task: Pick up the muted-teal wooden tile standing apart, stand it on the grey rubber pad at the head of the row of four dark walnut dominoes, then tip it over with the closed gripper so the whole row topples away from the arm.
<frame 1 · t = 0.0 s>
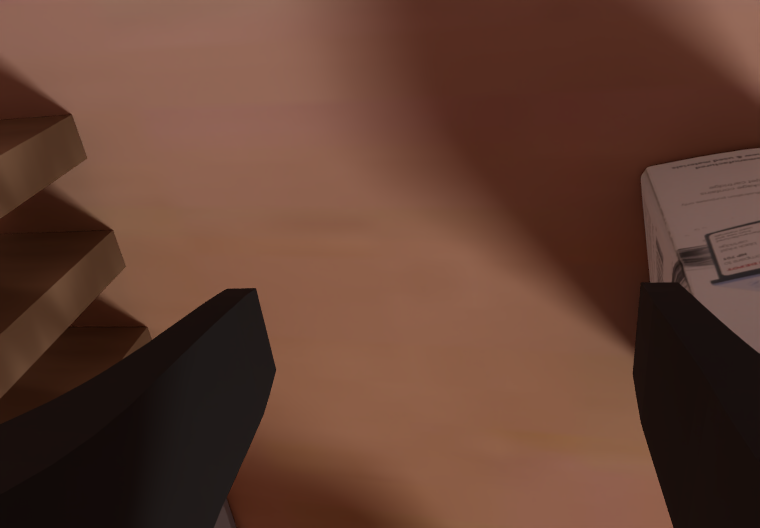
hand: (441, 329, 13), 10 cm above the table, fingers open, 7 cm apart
domino 4: (61, 250, 26), on the table
slot pad: (164, 503, 33), on the table
ink box: (715, 268, 22), on the table
domino 3: (99, 342, 28), on the table
domino 5: (17, 140, 24), on the table
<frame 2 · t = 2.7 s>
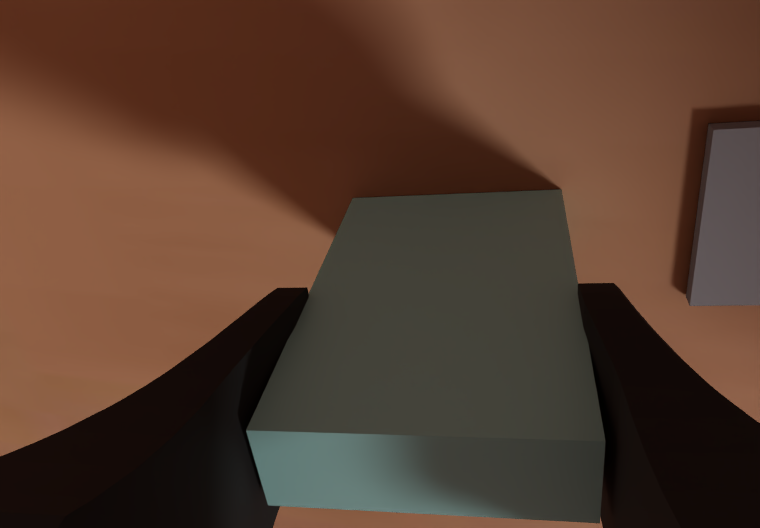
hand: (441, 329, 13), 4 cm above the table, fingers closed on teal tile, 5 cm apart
teal tile: (455, 223, 16), on the table, touching gripper
when the fingers open (5 cm above the table, at t = 5.6 s): teal tile stays where it is, resting on slot pad.
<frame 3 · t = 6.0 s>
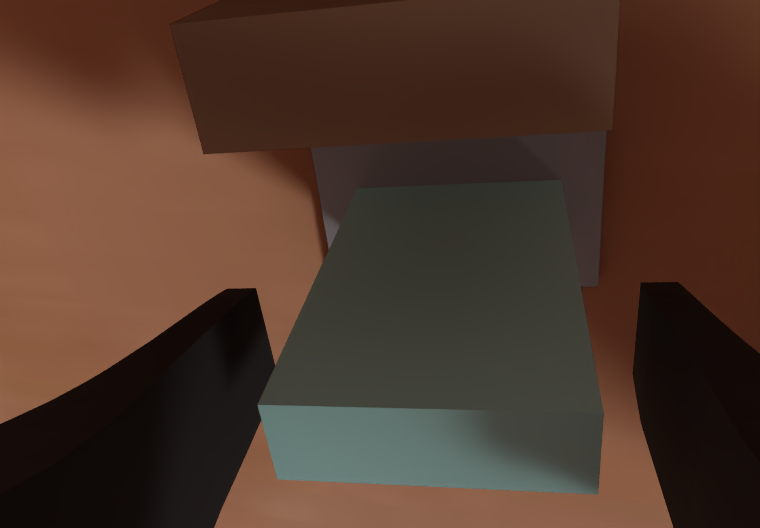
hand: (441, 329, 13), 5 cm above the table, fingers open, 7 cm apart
slot pad: (458, 208, 17), on the table
teal tile: (458, 213, 17), resting on slot pad
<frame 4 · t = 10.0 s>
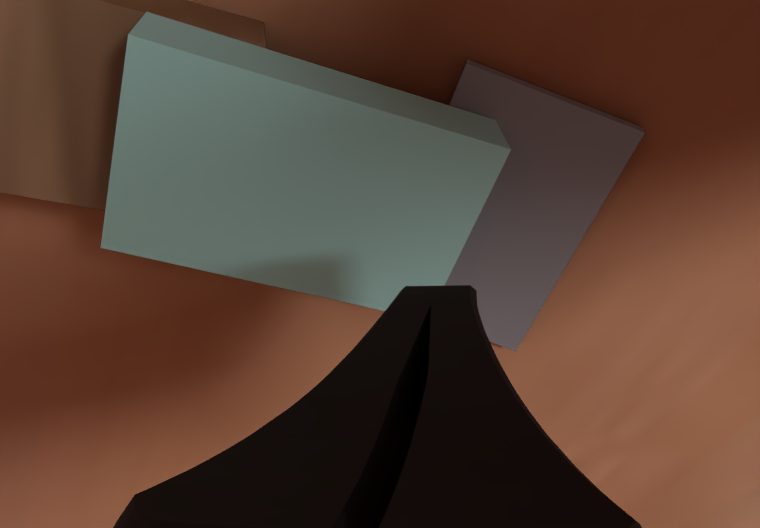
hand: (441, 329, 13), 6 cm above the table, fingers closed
domino 2: (242, 131, 16), point 1 cm above the table, tilted 70°, touching domino 3, teal tile
slot pad: (494, 216, 17), on the table
teal tile: (459, 224, 16), point 1 cm above the table, tilted 76°, touching domino 2, slot pad
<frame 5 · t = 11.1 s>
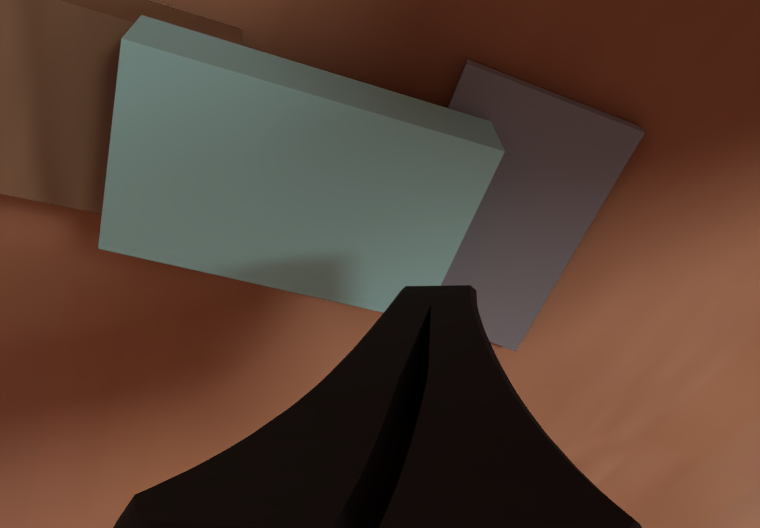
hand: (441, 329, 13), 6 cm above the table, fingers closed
domino 2: (216, 135, 17), point 1 cm above the table, tilted 70°, touching domino 3, teal tile
slot pad: (494, 216, 17), on the table
teal tile: (455, 225, 16), point 1 cm above the table, tilted 77°, touching domino 2, slot pad
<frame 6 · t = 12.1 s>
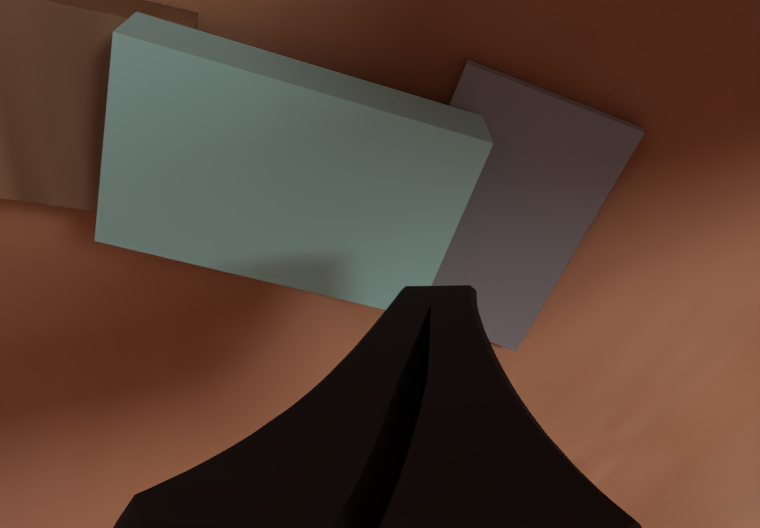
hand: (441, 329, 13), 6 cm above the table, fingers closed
domino 2: (184, 121, 17), point 1 cm above the table, tilted 71°, touching domino 3, teal tile
slot pad: (494, 216, 17), on the table
teal tile: (448, 220, 16), point 1 cm above the table, tilted 79°, touching domino 2, slot pad
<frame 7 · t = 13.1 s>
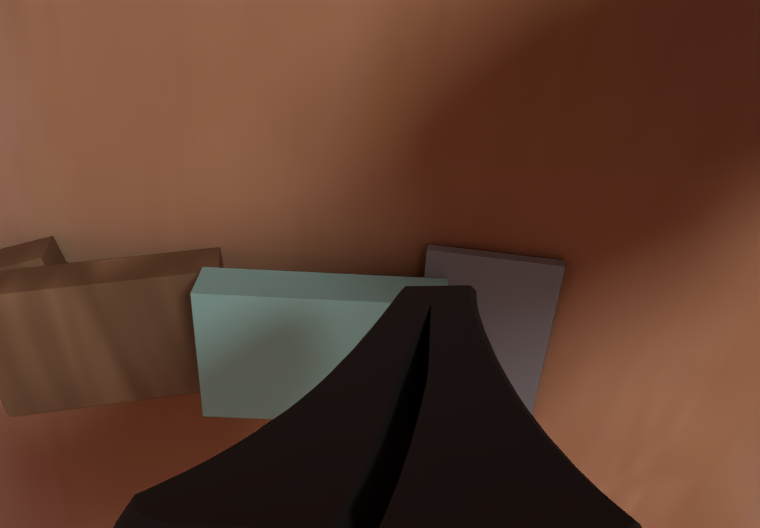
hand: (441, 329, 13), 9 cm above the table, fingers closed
domino 2: (229, 319, 24), point 1 cm above the table, tilted 72°, touching domino 3, teal tile
slot pad: (481, 338, 23), on the table
domino 3: (77, 304, 24), point 1 cm above the table, tilted 72°, touching domino 2, domino 4
teal tile: (441, 354, 22), point 1 cm above the table, tilted 81°, touching domino 2, slot pad
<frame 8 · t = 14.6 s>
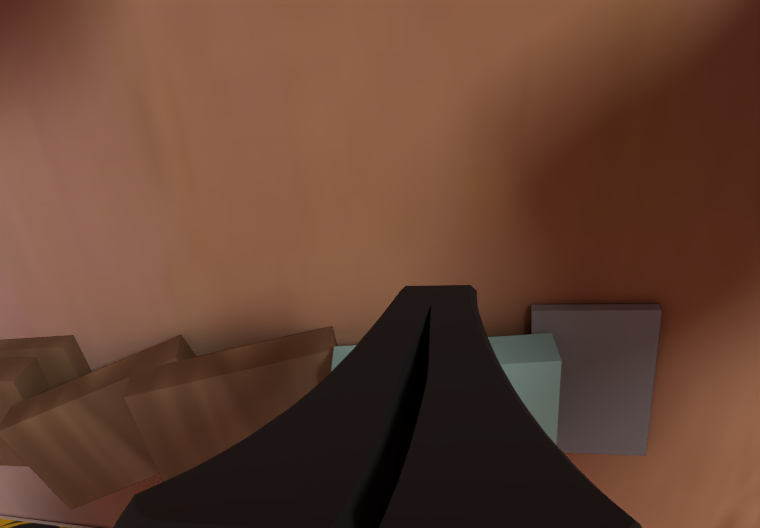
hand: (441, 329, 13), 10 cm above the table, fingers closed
domino 2: (346, 387, 27), point 1 cm above the table, tilted 72°, touching domino 3, teal tile
domino 4: (47, 413, 29), point 2 cm above the table, tilted 90°, touching domino 5
slot pad: (590, 379, 25), on the table
domino 3: (209, 389, 28), point 1 cm above the table, tilted 74°, touching domino 2
domino 5: (95, 380, 30), on the table, tilted 90°, touching domino 4
teal tile: (553, 400, 25), point 1 cm above the table, tilted 81°, touching domino 2, slot pad
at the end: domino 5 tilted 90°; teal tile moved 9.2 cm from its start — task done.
